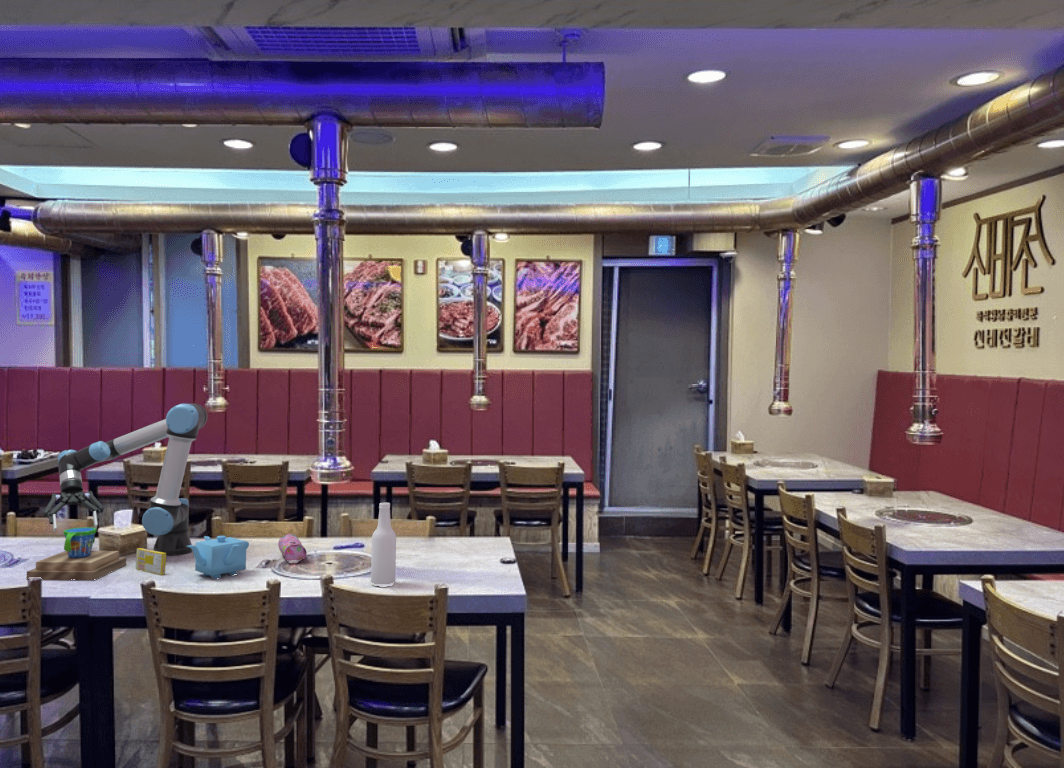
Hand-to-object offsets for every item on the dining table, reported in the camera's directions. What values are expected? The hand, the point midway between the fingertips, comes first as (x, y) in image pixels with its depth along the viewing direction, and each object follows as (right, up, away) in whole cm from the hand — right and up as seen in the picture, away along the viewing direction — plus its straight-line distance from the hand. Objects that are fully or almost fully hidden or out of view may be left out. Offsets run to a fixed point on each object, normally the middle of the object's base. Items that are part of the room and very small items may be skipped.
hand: (75, 528), depth 295 cm
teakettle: (+55, -17, -2) cm, 58 cm away
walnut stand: (+2, -16, -2) cm, 16 cm away
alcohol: (+120, -19, -11) cm, 122 cm away
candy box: (+28, -17, +1) cm, 33 cm away
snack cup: (+3, -10, -2) cm, 11 cm away
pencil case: (+74, -18, +27) cm, 81 cm away
